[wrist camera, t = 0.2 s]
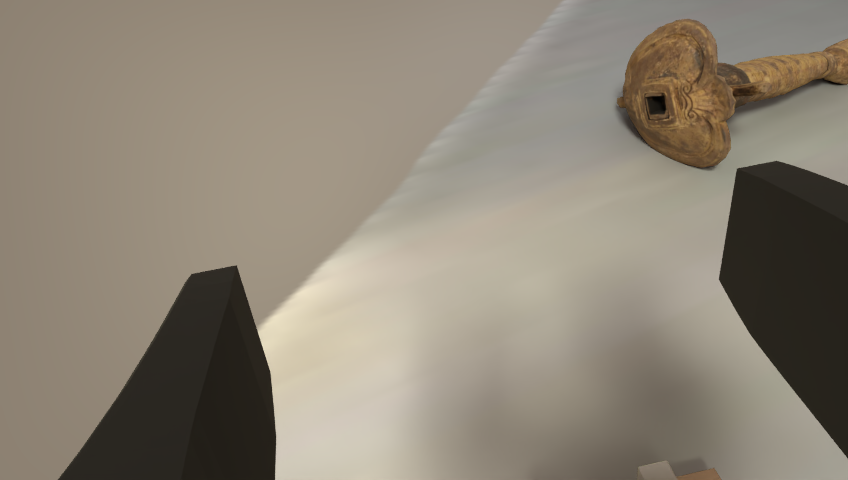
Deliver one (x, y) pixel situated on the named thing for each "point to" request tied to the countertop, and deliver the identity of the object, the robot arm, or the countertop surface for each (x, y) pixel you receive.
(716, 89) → the brown piece
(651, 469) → the track board
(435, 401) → the countertop surface
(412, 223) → the countertop surface
